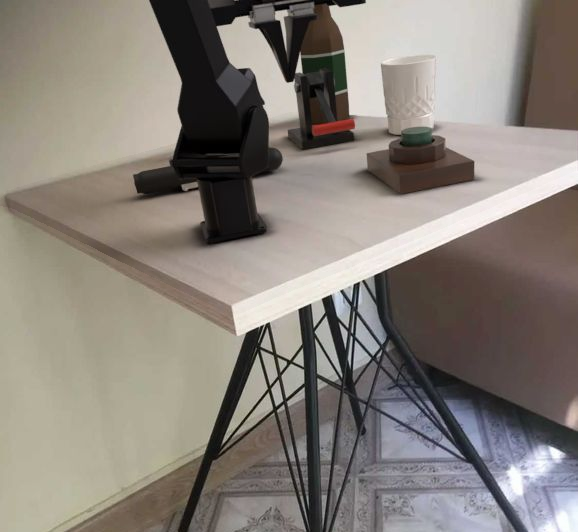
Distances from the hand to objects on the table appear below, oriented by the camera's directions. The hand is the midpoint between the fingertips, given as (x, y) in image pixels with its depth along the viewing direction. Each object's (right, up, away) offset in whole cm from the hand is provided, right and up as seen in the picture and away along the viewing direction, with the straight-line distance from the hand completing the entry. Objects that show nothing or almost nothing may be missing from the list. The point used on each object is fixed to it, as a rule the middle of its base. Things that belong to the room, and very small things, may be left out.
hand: (289, 82), depth 83 cm
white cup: (+18, +1, +22) cm, 29 cm away
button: (+15, -8, -1) cm, 17 cm away
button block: (+16, -11, +1) cm, 19 cm away
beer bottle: (+7, +7, +37) cm, 38 cm away
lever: (+5, +3, +19) cm, 20 cm away
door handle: (-12, -8, +15) cm, 20 cm away
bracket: (+5, +1, +25) cm, 25 cm away
